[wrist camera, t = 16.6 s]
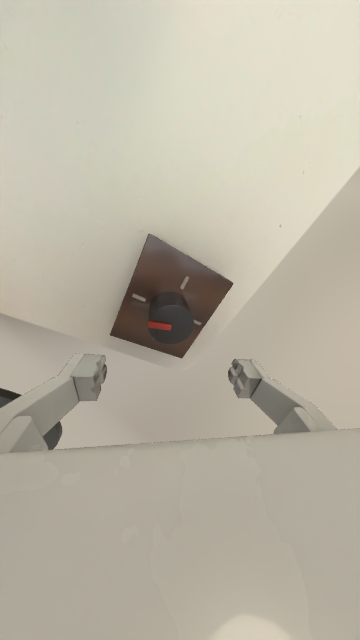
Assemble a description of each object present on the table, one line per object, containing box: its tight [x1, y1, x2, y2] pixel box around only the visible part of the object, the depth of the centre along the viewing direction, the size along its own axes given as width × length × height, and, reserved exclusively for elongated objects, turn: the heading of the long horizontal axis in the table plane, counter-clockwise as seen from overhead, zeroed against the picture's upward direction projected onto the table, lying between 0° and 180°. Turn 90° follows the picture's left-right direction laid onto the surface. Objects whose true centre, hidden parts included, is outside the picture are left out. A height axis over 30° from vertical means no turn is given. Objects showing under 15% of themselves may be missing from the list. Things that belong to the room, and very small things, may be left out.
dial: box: [148, 292, 194, 345], centre depth 15 cm, size 4×4×4 cm
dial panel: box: [110, 234, 233, 358], centre depth 18 cm, size 12×10×3 cm
